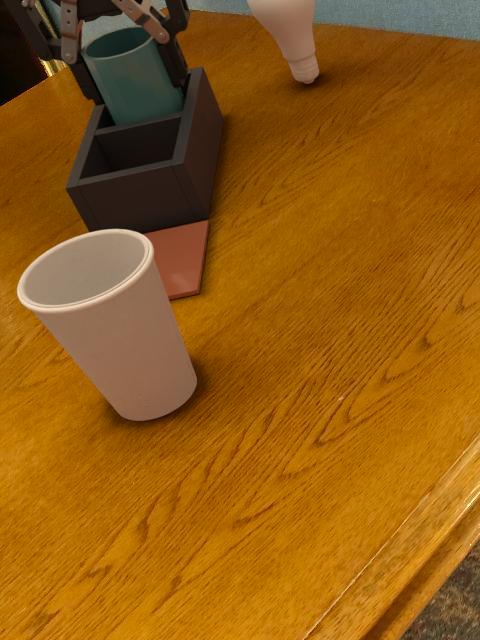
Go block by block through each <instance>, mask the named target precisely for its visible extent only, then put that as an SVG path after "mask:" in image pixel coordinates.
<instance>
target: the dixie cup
mask: <svg viewBox="0 0 480 640" xmlns="http://www.w3.org/2000/svg"><path fill="white" fill-rule="evenodd" d="M142 234H143V233H138V232H134V231H130V230H125V229H107V230H100V231H95V232H87V233H83V234H79V235H77V236H74V237H72V238H69V239H67V240H64V241H62V242H61V243H58V244H57V245H55V246H53V247H51V248H50V249H48V250H47V251H45V252H43V253H42V254H41V255H39V256H38V257H37V258H36V259H34V261H32V262H31V263H30V264H29V266H27V268H25V270H24V271H23V273H22V274H21V276H20V279H19V281H18V284H17V287H16V294H17V298H18V301H19V302H20V303H21V304H22V306H23V307H25V308H26V309H27V310H30V311H31V312H33V313H34V315H35V316H36V317H37V318H38V319H39V321H40V322H41V323H42V324H43V325H44V326H45V328H46V329H47V330H48V331H49V332H50V334H51V335H52V336H53V337H54V338H55V340H56V341H57V342H58V343H59V344H60V346H61V347H62V348H63V349H64V350H65V352H66V353H67V354H68V355H69V357H70V358H71V359H72V360H73V362H75V364H76V365H77V366H78V367H79V368H80V369H81V371H82V372H83V373H84V374H85V375H86V377H87V378H88V379H89V380H90V381H91V382H92V384H93V385H94V386H95V387H96V389H97V390H98V391H99V392H100V393H101V395H102V396H103V397H104V398H105V399H106V400H107V402H108V403H109V404H110V405H111V406H112V407H113V409H114V410H115V411H116V413H118V415H120V417H122V418H124V419H126V420H130V421H134V422H135V421H136V422H144V421H150V420H154V419H158V418H161V417H164V416H166V415H168V414H170V413H173V412H174V411H175V410H177V409H179V408H180V407H181V406H183V405H184V404H185V403H186V402H187V401H188V400H189V399H190V398H191V397H192V395H193V394H194V392H195V390H196V388H197V385H198V378H197V375H196V372H195V369H194V366H193V364H192V361H191V358H190V355H189V352H188V350H187V347H186V344H185V342H184V338H183V335H182V333H181V331H180V327H179V324H178V322H177V319H176V317H175V316H176V315H175V314H174V313H175V312H174V311H173V308H172V304H171V302H170V300H169V299H168V296H167V293H166V291H165V288H164V285H163V282H162V279H161V277H160V274H159V271H158V268H157V266H156V263H155V260H154V248H153V245H152V243H151V242H150V240H149V239H148V238H147V237H145V236H144V235H142Z"/></svg>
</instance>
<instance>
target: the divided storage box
mask: <svg viewBox="0 0 480 640" xmlns="http://www.w3.org/2000/svg"><path fill="white" fill-rule="evenodd" d="M180 88H181V90H182V93H183V95H184V97H185V104H184V109H183V111H180V112H176V113H171V114H166V115H162V116H157V117H153V118H148V119H144V120H139V121H134V122H130V123H125V124H121V125H116V126H115V124H114V122H113V120H112V118H111V115H110V113H109V111H108V109H107V107H106V105H105V104H103V105H98V106H96V105H95V104H94V106H93V108H92V111H91V114H90V117H89V120H88V122H87V125H86V129H85V131H84V133H83V135H82V136H83V137H82V139H81V141H80V145H79V148H78V150H77V154H76V156H75V159H74V161H73V165H72V167H71V170H70V173H69V176H68V179H67V181H66V184H65V187H64V189H65V191H66V193H67V195H68V196H69V198H70V201H71V202H72V204H73V205H74V207H75V209H76V211H77V212H78V215H79V216H80V218H81V220H82V221H83V224H84V225H85V227H86V229H87V231H88V233H90V232H95V231H100V230H107V229H125V230H130V231H134V232H138V233H140V234H146V233H150V232H155V231H160V230H164V229H169V228H173V227H178V226H183V225H187V224H192V223H196V222H201V221H205V220H208V219H209V215H210V210H211V203H212V197H213V190H214V185H215V178H216V172H217V167H218V158H219V154H220V148H221V147H220V146H221V140H222V134H223V127H224V121H225V117H224V116H223V113H222V110H221V108H220V105H219V102H218V101H217V98H216V95H215V93H214V90H213V88H212V85H211V83H210V81H209V78H208V75H207V73H206V70H205V67H204V66H203V65H201V66H197V67H192V68H188V73H187V78H186V79H185V83H184V86H183V87H180Z"/></svg>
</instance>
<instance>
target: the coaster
mask: <svg viewBox="0 0 480 640" xmlns="http://www.w3.org/2000/svg"><path fill="white" fill-rule="evenodd" d="M210 225H211V224H210V221H209V220H208V219H205V220H201V221H196V222H191V223H187V224H182V225H177V226H173V227H168V228H164V229H159V230H154V231H150V232H145V233H141V234H142V235H144V236H145V237H147V238H148V239H149V240H150V242H151V243H152V245H153V248H154V260H155V263H156V266H157V268H158V271H159V274H160V277H161V279H162V282H163V285H164V288H165V291H166V293H167V296H168V299H169V301H171V300H172V301H173V300H176V299H182V298H185V297H191V296H194V295H195V296H196V295H199V294H200V290H201V283H202V277H203V270H204V263H205V257H206V251H207V243H208V238H209V232H210Z"/></svg>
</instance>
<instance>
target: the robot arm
mask: <svg viewBox="0 0 480 640" xmlns="http://www.w3.org/2000/svg"><path fill="white" fill-rule="evenodd" d="M2 1H3V3H4V5H5V6H6V8H7V9H8V11H9V13H10V14H11V16H12V18H13V19H14V21H15V23H16V24H17V26H18V27H19V29H20V30H21V32H22V34H23V35H24V38H26V40H27V42H28V43H29V45H30V47H31V48H32V49H33V51H34V53H35V54H36V57H38V59H40V60H41V61H43V62H50V61H51V60H54V61H61V62H63V63H65V64H66V65H67V66H68V68H69V69H70V71H71V73H72V75H73V77H74V79H75V81H76V83H77V85H78V88H79V90H80V91H81V93H82V96H84V98H86V99H87V100H88V101H91V100H92V101H93V104H94V105H96V106H98V105H103V104H105V103H104V101H103V99H102V97H101V95H100V93H99V91H98V89H97V87H96V85H95V83H94V80H93V78H92V76H91V74H90V72H89V70H88V68H87V66H86V64H85V62H84V60H83V58H82V56H81V51H82V48H83V27H84V23H90V22H94V21H96V20H97V19H99V18H101V17H117V16H121V15H123V14H124V15H126V17H128V19H130V20H131V21H132V22H133V23H134V24H136V25H140V26H142V27H143V28H144V29H145V30H146V31H147V32H148V33H149V34H150V35H151V36H152V37H153V38H154V39H155V40H156V41H158V45H157V48H158V51H159V53H160V55H161V58H162V60H163V62H164V65H165V67H166V69H167V72H168V74H169V76H170V79H171V81H172V83H173V86H174V87H175V88H179V87H183V86H184V83H185V79H186V78H187V73H188V69H189V65H188V63H187V60H186V58H185V55H184V52H183V51H182V47H181V45H180V43H179V40H178V38H177V35H178V34H179V33H181V32H184V31H186V30H187V29H188V25H189V21H190V18H191V11H190V8H189V4H188V1H187V0H164V2H165V6H166V9H167V13H168V14H167V15H165V14H164V13H163V12H162V11H161V10H160V9H159V8H158V7H157V6H156V4H154V2H153V1H152V0H50V1H51V2H53V3H54V4H55V5H57V6H58V7H59V8H60V17H59V18H60V20H59V21H60V23H59V25H60V26H59V28H60V29H59V31H60V36H61V38H57V37H55V36H54V34H53V32H52V31H51V29H50V27H49V25H48V24H47V22H46V21H45V18H44V17H43V16H42V14H41V12H40V11H39V9H38V7H37V6H36V3H37V0H2Z"/></svg>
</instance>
